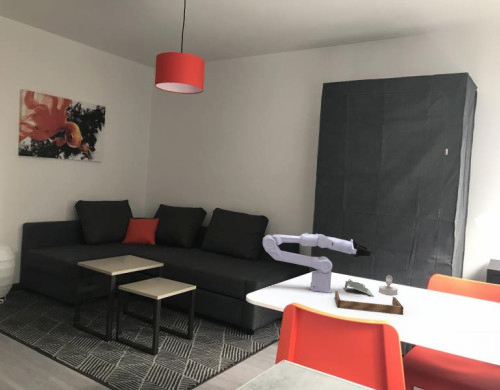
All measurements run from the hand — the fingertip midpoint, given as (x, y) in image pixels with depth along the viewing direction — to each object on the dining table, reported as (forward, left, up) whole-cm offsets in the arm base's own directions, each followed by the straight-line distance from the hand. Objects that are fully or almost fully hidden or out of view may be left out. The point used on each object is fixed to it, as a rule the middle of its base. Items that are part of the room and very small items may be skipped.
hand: (368, 251), depth 199 cm
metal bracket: (-3, +3, -21) cm, 21 cm away
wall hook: (+12, +6, -20) cm, 24 cm away
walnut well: (-2, -22, -20) cm, 30 cm away
